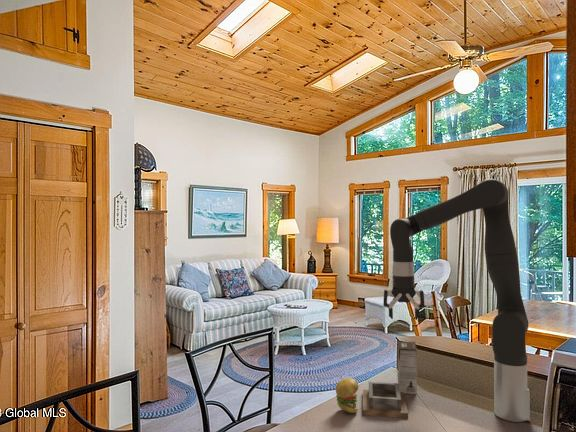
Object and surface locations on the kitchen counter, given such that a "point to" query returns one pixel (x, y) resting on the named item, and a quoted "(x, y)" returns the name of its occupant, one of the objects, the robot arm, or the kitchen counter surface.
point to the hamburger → (347, 394)
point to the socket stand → (384, 400)
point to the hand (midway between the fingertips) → (403, 318)
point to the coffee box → (407, 367)
